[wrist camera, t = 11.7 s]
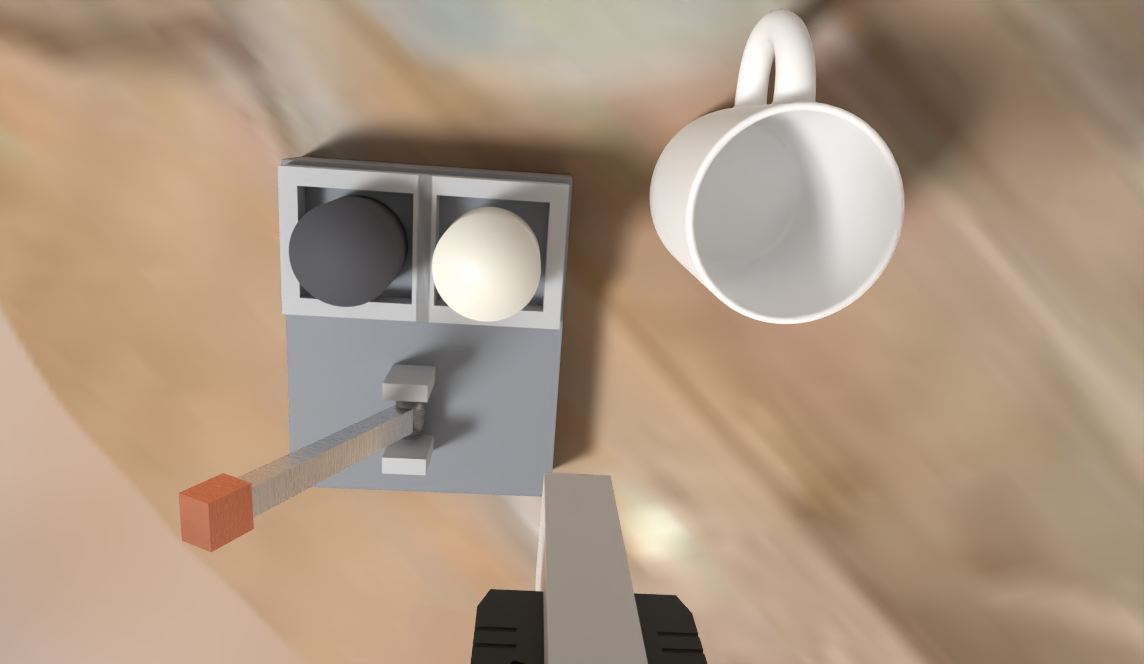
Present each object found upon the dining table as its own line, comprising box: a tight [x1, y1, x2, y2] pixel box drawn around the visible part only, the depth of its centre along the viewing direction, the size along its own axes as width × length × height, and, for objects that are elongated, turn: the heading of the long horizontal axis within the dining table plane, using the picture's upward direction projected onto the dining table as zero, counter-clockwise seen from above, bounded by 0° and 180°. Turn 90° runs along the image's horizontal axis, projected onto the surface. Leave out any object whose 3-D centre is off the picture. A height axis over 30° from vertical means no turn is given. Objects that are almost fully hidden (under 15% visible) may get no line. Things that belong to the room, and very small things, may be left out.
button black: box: [289, 195, 408, 307], centre depth 33 cm, size 4×4×3 cm
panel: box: [278, 157, 573, 497], centre depth 36 cm, size 16×13×6 cm
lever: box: [179, 401, 426, 552], centre depth 31 cm, size 2×1×13 cm
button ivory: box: [432, 207, 541, 322], centre depth 32 cm, size 4×4×3 cm
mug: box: [650, 9, 905, 324], centre depth 33 cm, size 12×8×10 cm
